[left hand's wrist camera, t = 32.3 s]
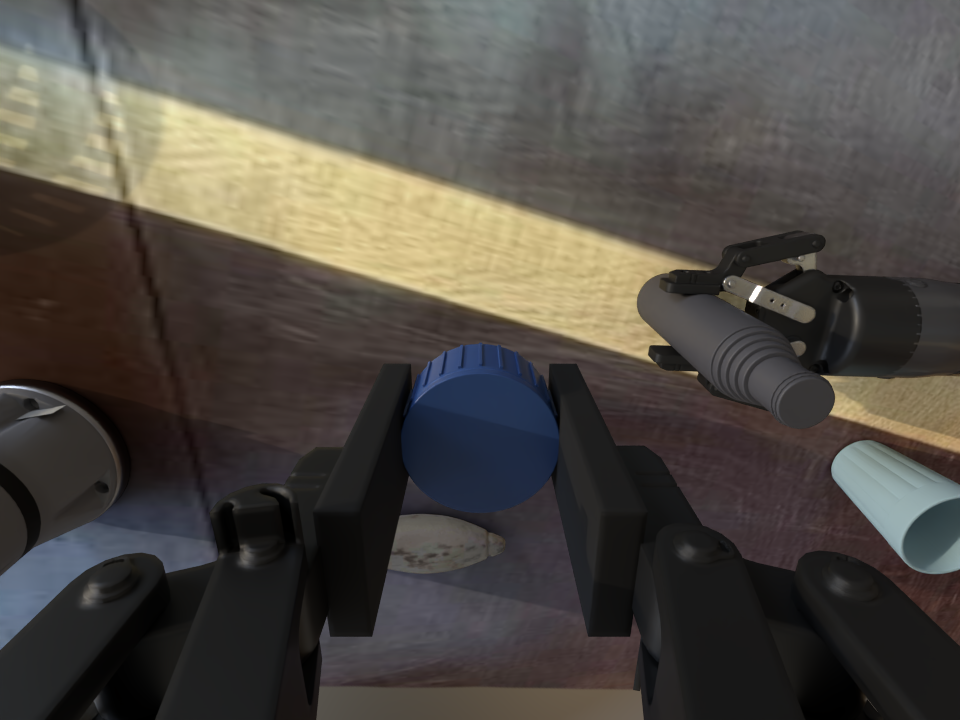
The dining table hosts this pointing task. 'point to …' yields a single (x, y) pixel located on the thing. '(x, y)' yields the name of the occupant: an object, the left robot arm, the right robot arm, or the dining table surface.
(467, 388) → the cap
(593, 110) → the dining table surface
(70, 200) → the dining table surface
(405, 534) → the decorative stone
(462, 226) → the dining table surface
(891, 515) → the cup
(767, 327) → the bottle
